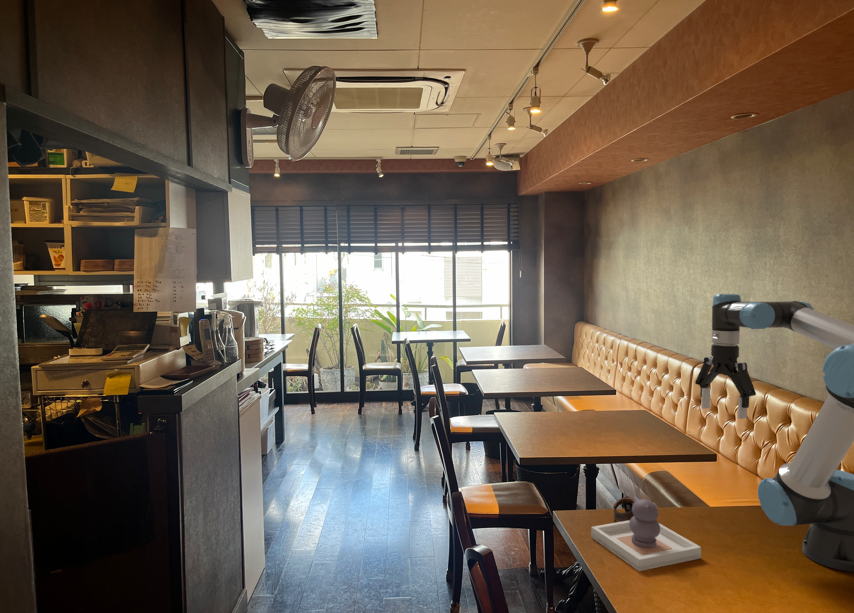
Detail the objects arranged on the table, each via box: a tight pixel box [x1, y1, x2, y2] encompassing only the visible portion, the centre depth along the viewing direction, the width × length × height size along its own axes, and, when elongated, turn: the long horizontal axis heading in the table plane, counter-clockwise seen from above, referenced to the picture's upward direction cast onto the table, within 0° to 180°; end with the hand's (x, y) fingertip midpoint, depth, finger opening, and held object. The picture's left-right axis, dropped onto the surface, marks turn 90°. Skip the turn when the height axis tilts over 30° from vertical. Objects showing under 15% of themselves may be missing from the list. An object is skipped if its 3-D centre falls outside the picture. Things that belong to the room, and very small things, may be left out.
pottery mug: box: [612, 495, 635, 523], centre depth 173 cm, size 12×10×8 cm
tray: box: [590, 520, 702, 572], centre depth 156 cm, size 20×20×3 cm
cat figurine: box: [629, 495, 660, 548], centre depth 156 cm, size 8×8×12 cm
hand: (723, 413), depth 174 cm, fingers open, 13 cm apart
